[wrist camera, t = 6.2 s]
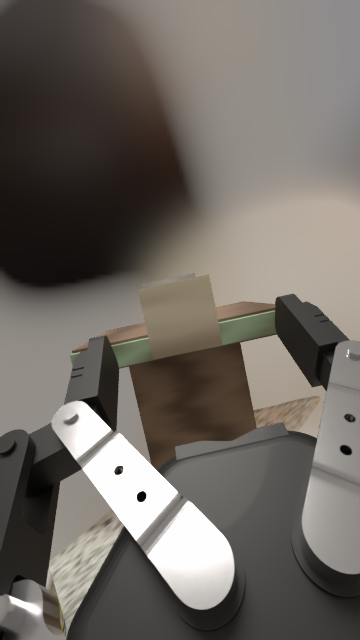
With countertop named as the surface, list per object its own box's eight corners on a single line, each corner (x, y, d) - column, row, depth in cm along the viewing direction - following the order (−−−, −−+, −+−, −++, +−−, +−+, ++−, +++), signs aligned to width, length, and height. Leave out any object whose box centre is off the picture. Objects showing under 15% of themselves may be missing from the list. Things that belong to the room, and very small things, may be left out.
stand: (151, 765, 22) (46, 360, 19) (158, 567, 38) (102, 330, 35) (379, 708, 22) (312, 303, 19) (291, 536, 38) (247, 299, 35)
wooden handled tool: (245, 339, 12) (227, 245, 12) (130, 364, 12) (108, 270, 12) (197, 312, 32) (190, 276, 32) (153, 321, 32) (146, 286, 32)
